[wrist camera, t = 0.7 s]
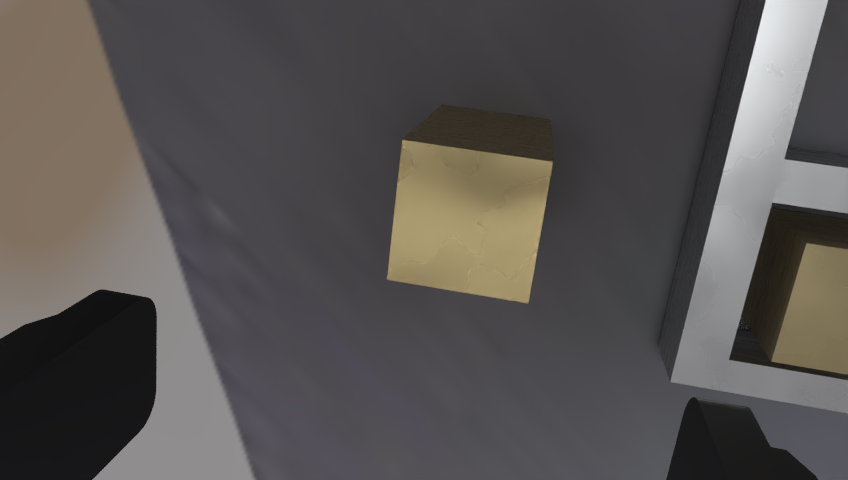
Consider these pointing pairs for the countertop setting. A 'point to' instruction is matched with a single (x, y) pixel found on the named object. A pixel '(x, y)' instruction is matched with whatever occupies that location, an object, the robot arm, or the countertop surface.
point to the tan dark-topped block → (471, 202)
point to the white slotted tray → (764, 231)
